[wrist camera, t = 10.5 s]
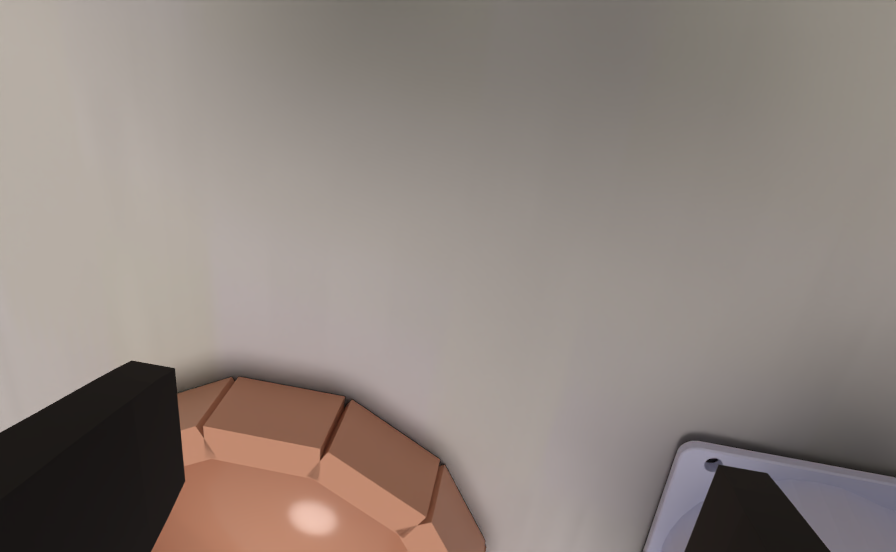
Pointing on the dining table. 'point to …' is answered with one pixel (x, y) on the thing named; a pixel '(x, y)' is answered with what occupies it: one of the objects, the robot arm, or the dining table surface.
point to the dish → (306, 478)
